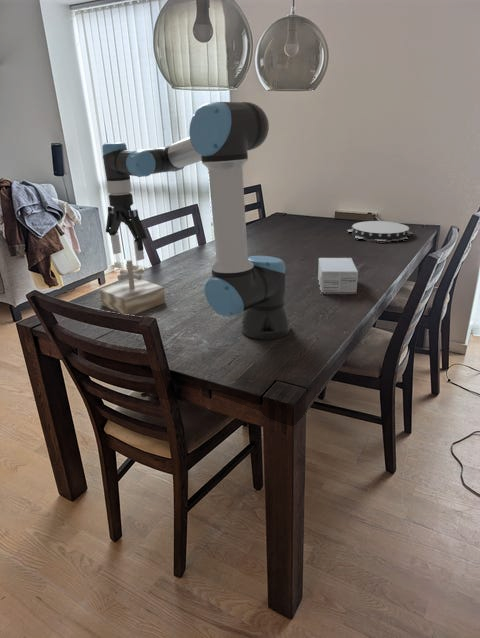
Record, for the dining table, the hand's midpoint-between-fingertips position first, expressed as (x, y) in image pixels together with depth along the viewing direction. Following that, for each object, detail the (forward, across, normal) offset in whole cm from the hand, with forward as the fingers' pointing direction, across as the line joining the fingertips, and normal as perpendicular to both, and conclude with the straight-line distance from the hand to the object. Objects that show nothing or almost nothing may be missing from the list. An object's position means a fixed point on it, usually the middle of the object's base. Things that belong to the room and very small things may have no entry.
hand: (128, 256), depth 162 cm
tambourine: (+19, -20, -144) cm, 147 cm away
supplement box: (+19, -45, -61) cm, 78 cm away
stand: (+18, +1, 0) cm, 18 cm away
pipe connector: (+12, 0, 0) cm, 12 cm away
